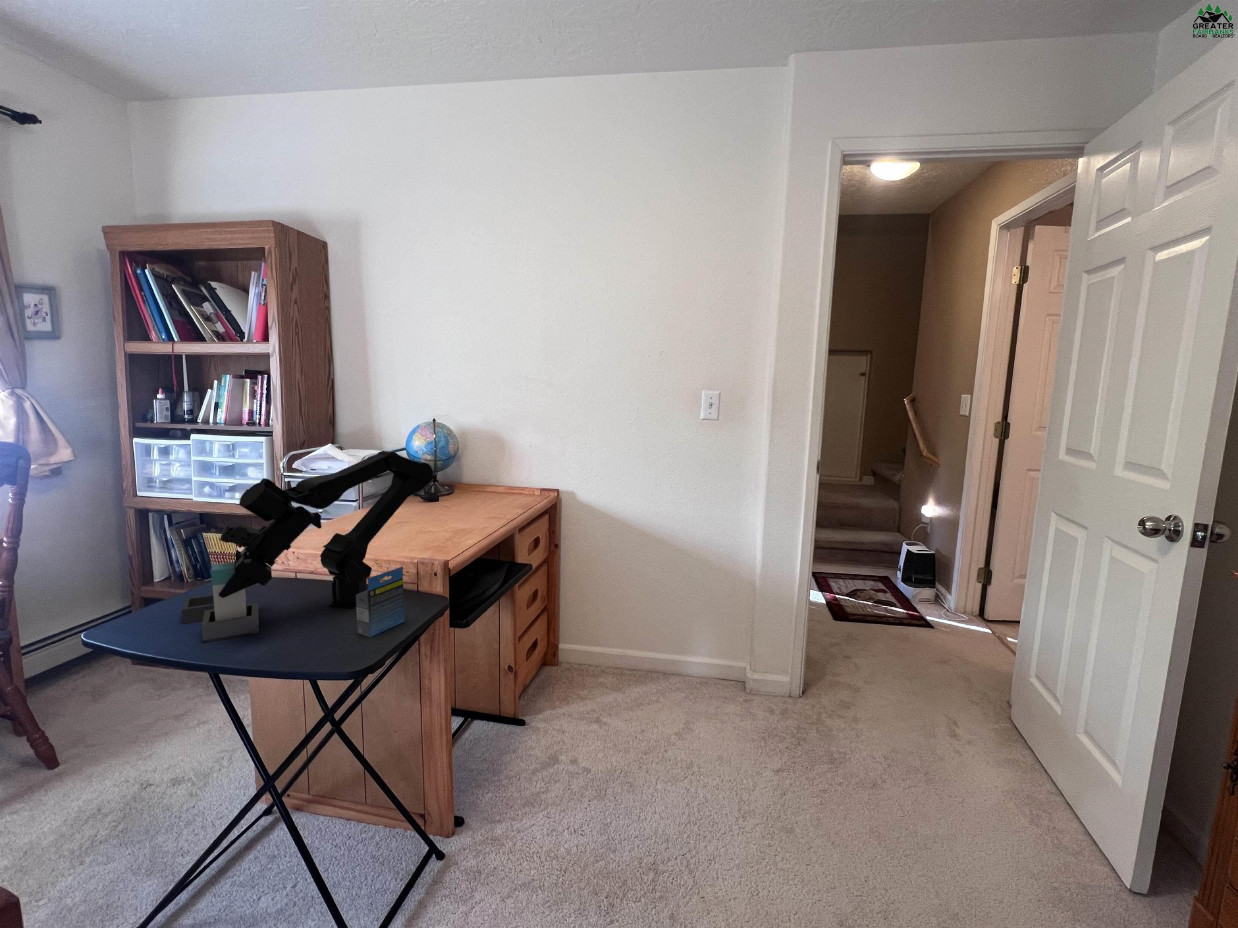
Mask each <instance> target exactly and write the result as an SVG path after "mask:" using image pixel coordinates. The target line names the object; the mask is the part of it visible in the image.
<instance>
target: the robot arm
mask: <svg viewBox="0 0 1238 928" xmlns="http://www.w3.org/2000/svg"><path fill="white" fill-rule="evenodd" d="M386 472H389V473H392V474H393V475H392V479H391V483H390V486H389V487H388V488H387V489H386V490H385V491H384V492H383V493H382V495H381V496H380V497H379V498H378V499H377V501H375V503H374V504H373V505H372V506H371V507H370V508H369V510H368V511H367V512H366V513H365V514H364V515H363V516H362V518H361V519H360V520H359V521H358V522H357V523H356V524H355V526H354V527H353V528H351V530H349V532H347V533H345V534H341V533H338V532H336V533H334V534H333V535H332V537H331V539H330V540H329V541H328V542H327V543H326V544H324V545H323V546H322V548H323V550H322V551H321V553H320V556H319V557H320V564H321V566H322V567H323V568H324V569H326V570H327V571H328V574H329V575H330V576H333V577H332V582H331V599H332V601H331V602H329V603H328V604H329V606H331V607H339V608H348V609H349V608H351V609H356V595H357V594H359V593H362V592H364V591H367V590H368V578H370V577H371V574H372V570H373V569H372V567H371V566H370V565H368V564H367V563H366V562H365V561H364V560H365V559H366V556H367V552H368V546H369V544H370V543H371V542H372V541H373V539H374V538H375V537H376V536H377V534H378V533H379V532H380V531H381V530H382V528H384V526H385V525H386V524H387V522H388V521H389V520H390V519H391V518H392V517H393V515H394V514H395V513H397V511H398V510H399V509H400V507H401V506H402V505H403V504H404V503H405V501H407V499H408V498H410V497H411V496H413V495H415V494H417V493H419V492H421V491H422V490H423V489H425V488H426V487H427V486H428V485H429V484H430V483H431V482H432V481H433V478H434V471H433V468H432V466H431V464H429V463H428V462H423V461H419V460H418V461H417V460H413V459H409V458H407V457H404V456H402V455H400V454H398V453H397V452H394V451H387V450H381V451H379V452H378V453H377V454H375V455H373V456H370V457H367V458H365V459H363V460H361V461H358V462H356V463H354V464H352V465H349V466H348V467H346V468H343V469H341V470H338V471H336V472H333V473H330V474H322V475H316V476H313V477H309V478H304V479H301V480H300V481H298V482H297V483H296V485H294V486H292V487H289V488H286V489H282V488H281V487H279V486H278V485H276V484H275V482H274V481H272V480H271V479H269V478H266V477H263V478H262V479H261V480H260V481H259V482H257V483H255V484H253V485H252V486H251V487H249V488H247V489H245V491H244V492H243V494H242V495H241V497H240V498H239V503H238V504H239V506H240V507H242V508H243V509H245V510H247V512H250V513H252V514H253V515H255V516H257V517H258V518H259V519H261V520H263V521H264V522H270V521H271V522H270V523H269V524H265V525H264V524H263V525H262V526H260V528H259V529H258V528H255V527H253V526H249V525H246V524H243V523H238V522H236V521H230V520H229V521H227V522H226V524H225V526H224V527H223V530H222V533H221V534H220V537H219V540H220V541H221V542H224V543H226V544H228V543H229V544H235V545H237V548H239V549H241V548H243V549H242V550H241V551H240V550H238V549H236V550H235V560H234V561H233V562H234V568H235V572H234V574H233V575H232V576H231V578H230V579H229V580H228V582H227V583H226V584H225V586H224V587H223V589H222V590H221V591H220V593H219V596H220V597H222V598H225V597H227V596H229V595H231V594H233V593H236V592H238V591H240V590H242V589H245V590H246V589H247V588H250V587H252V586H254V585H257V584H259V585H261V586H263V587H265V586H266V585H267V584H268V583H269V582H270V581H271V580H272V579H273V576H272V574H273V573H272V567H273V566H274V565H275V564H276V560H277V559H278V558H279V557H280V556H281V555H282V554H283V553H284V552H285V551H289V550H290V549H291V548H292V544H293V543H294V542H295V540H296V539H298V538H299V536H301V534H302V533H304V532H305V530H306V529H308V528H309V527H310V526H311V525H312V526H314V527H315V528H317V529H321V528H322V515H321V514H320V512H318V511H315V512H311V511H310V510H308V509H307V508H305V507H304V506H306V507H309V508H312V509H316V510H324V509H327V508H328V507H330V506H331V505H333V504H334V503H335V502H337V501H338V500H340V499H341V498H342V496H343V495H344V493H346V492H347V491H349V490H351V489H352V488H355V487H356V486H358V485H360V484H363V483H365V482H367V481H369V480H371V479H373V478H374V479H375V478H376V477H377V476H379V475H382V474H384V473H386ZM291 503H294V504H298V505H299V506H294V505H293V504H291Z"/></svg>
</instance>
